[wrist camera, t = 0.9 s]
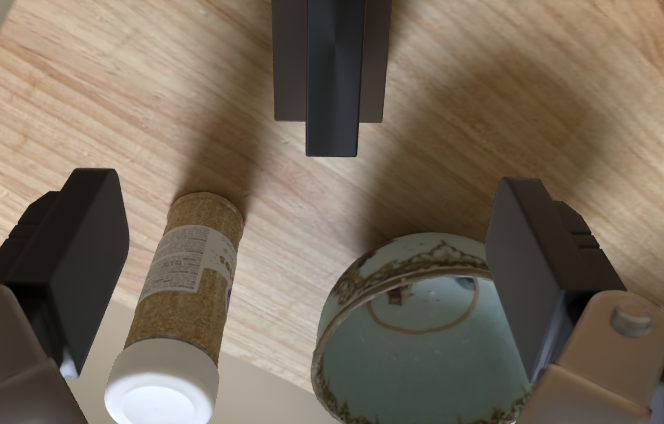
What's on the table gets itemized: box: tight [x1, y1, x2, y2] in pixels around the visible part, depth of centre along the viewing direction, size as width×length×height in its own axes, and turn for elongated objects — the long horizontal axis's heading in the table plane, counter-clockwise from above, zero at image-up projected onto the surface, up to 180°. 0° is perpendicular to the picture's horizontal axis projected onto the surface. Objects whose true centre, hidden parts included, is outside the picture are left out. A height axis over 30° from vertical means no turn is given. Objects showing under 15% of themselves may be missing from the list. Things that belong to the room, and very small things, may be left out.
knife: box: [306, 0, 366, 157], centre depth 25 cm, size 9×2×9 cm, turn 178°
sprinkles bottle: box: [104, 192, 244, 424], centre depth 31 cm, size 5×5×14 cm
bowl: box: [311, 232, 538, 424], centre depth 36 cm, size 14×13×8 cm
